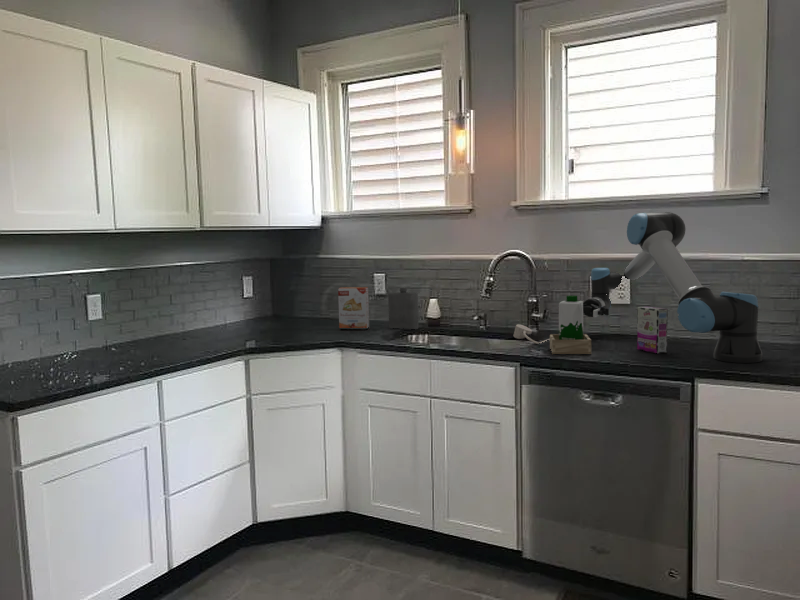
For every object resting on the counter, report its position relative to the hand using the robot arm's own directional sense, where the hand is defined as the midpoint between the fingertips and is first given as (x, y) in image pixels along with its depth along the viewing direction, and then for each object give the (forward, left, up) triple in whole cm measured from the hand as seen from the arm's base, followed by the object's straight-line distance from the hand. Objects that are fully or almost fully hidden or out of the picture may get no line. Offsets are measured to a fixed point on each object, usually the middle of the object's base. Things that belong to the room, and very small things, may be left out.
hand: (576, 313), depth 263 cm
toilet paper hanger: (+23, +16, -14) cm, 31 cm away
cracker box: (+54, +100, -14) cm, 115 cm away
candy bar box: (-7, -27, -14) cm, 31 cm away
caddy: (-7, +3, -14) cm, 16 cm away
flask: (+56, +76, -14) cm, 96 cm away
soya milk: (-7, +3, -13) cm, 15 cm away
